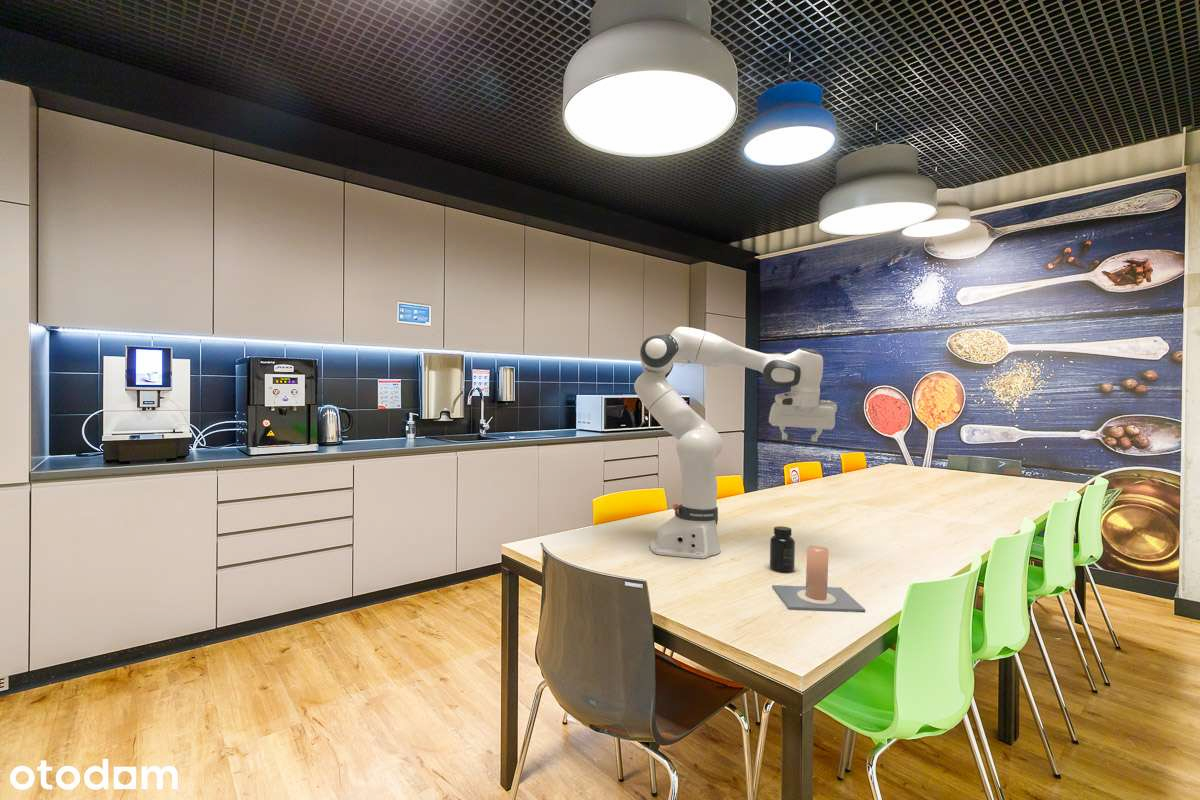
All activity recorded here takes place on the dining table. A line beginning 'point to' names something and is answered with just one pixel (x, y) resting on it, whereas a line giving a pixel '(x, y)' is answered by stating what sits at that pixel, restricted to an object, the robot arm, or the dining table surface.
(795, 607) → the card
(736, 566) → the dining table surface
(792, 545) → the supplement bottle
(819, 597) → the terracotta tube
